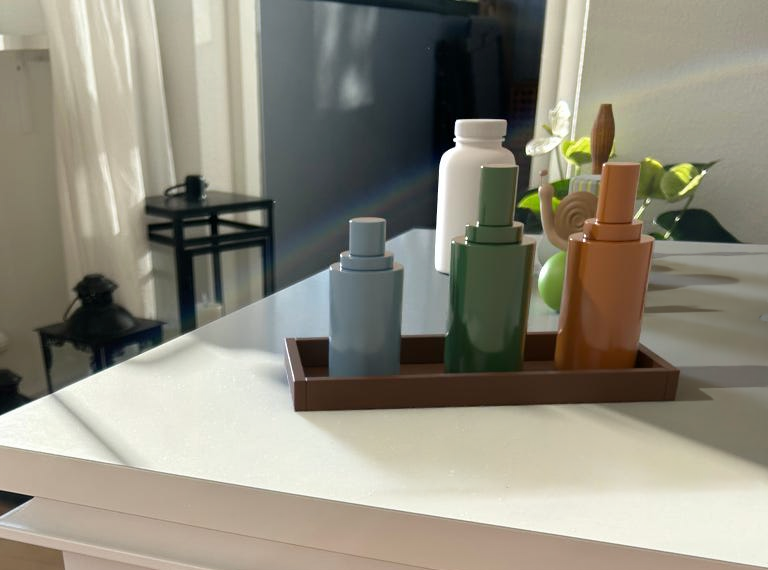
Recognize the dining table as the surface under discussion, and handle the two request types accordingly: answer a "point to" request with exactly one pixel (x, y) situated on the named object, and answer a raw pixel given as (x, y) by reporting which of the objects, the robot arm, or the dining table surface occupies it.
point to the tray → (469, 379)
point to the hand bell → (602, 137)
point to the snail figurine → (560, 235)
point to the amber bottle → (605, 280)
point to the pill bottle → (465, 179)
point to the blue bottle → (365, 304)
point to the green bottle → (490, 282)
